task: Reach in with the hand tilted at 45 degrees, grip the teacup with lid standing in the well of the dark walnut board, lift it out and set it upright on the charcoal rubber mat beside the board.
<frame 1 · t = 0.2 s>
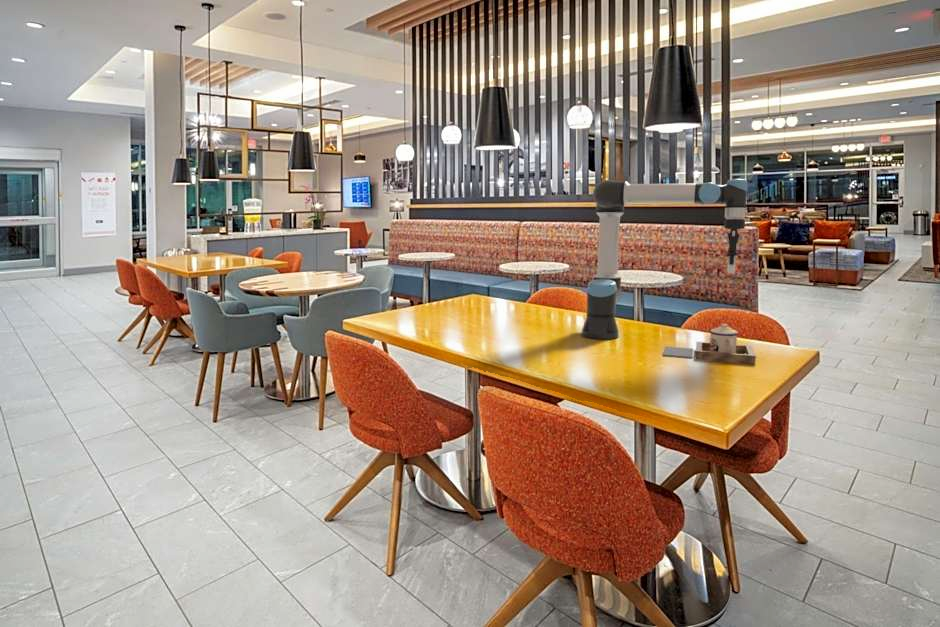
hand: (731, 272, 236), 28 cm above the table, tool pointing down, fingers open, 13 cm apart
charcoal rubber mat: (678, 352, 216), on the table
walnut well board: (723, 356, 210), on the table
teacup with lid: (723, 357, 210), resting in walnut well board
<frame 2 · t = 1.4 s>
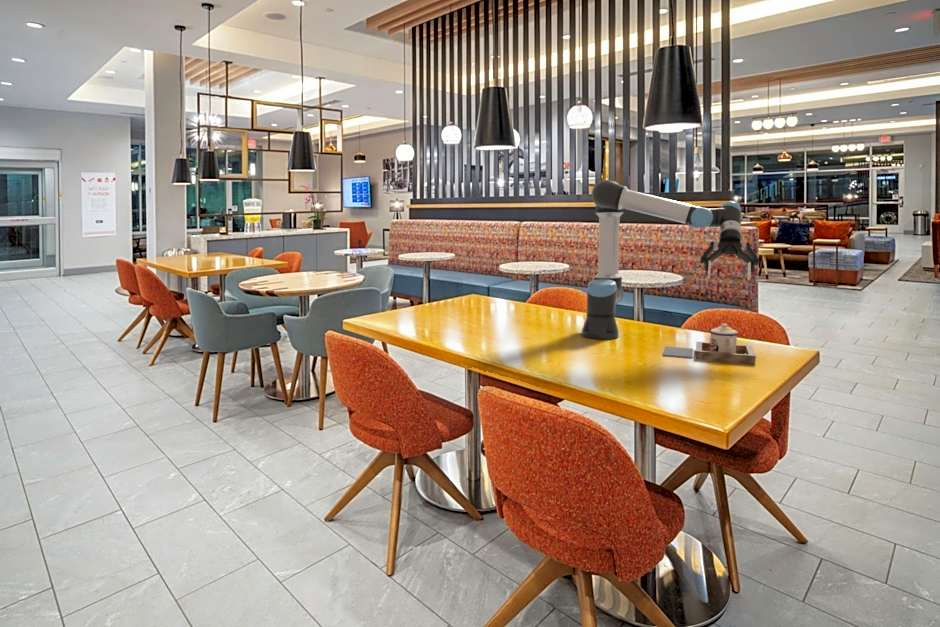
hand: (728, 277, 216), 28 cm above the table, tool tilted 45°, fingers open, 13 cm apart
nothing on the table moved.
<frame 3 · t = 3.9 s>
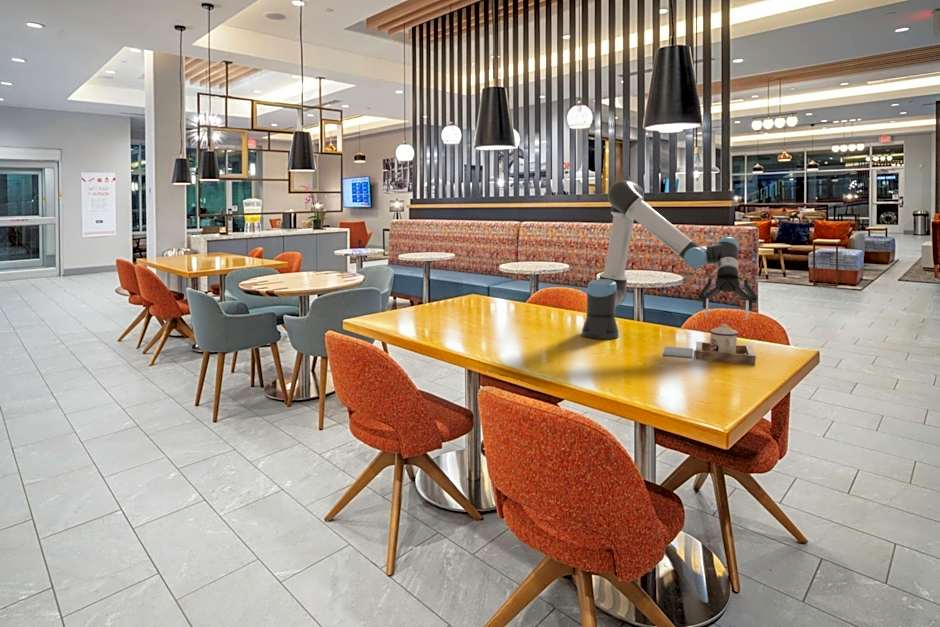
hand: (726, 315, 214), 14 cm above the table, tool tilted 45°, fingers open, 13 cm apart
nothing on the table moved.
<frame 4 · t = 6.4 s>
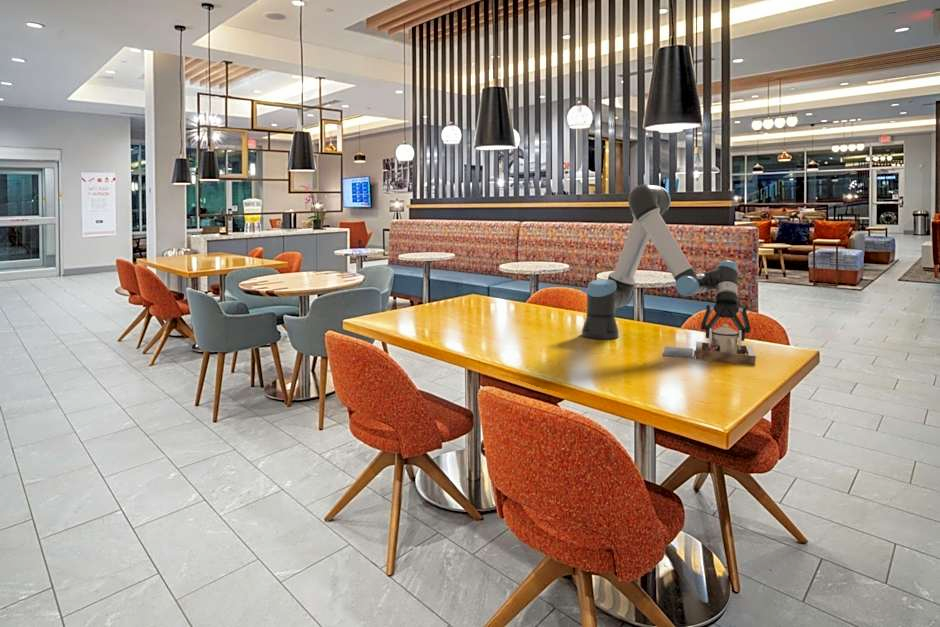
hand: (724, 346, 207), 4 cm above the table, tool tilted 45°, fingers closed on teacup with lid, 9 cm apart
teacup with lid: (724, 357, 210), resting in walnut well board, touching gripper
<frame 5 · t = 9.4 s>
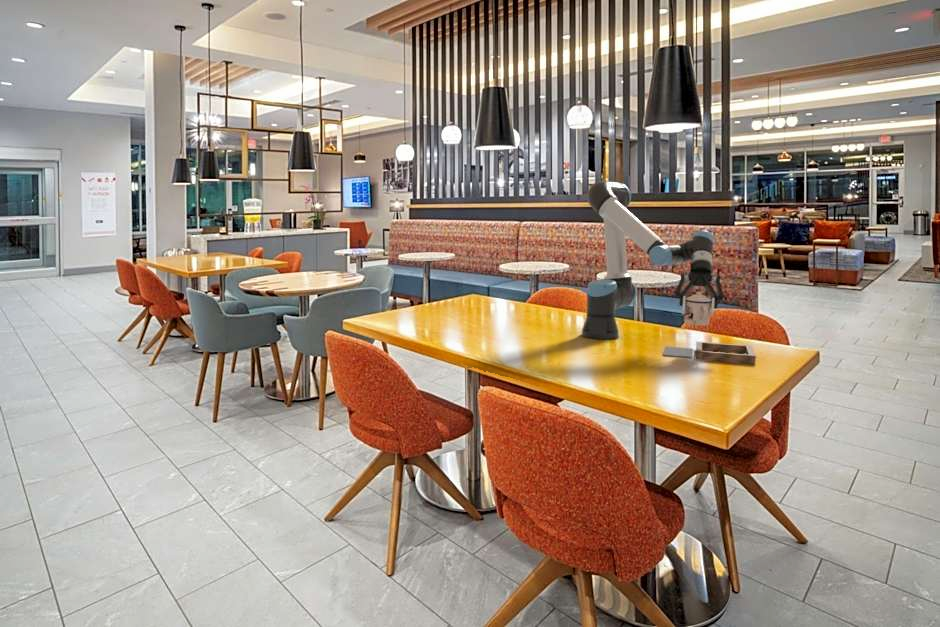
hand: (697, 313, 209), 15 cm above the table, tool tilted 45°, fingers closed on teacup with lid, 9 cm apart
teacup with lid: (698, 324, 212), point 11 cm above the table, touching gripper
when the fingers open (6 cm above the table, at t = 12.4 s): teacup with lid stays where it is, resting on charcoal rubber mat.
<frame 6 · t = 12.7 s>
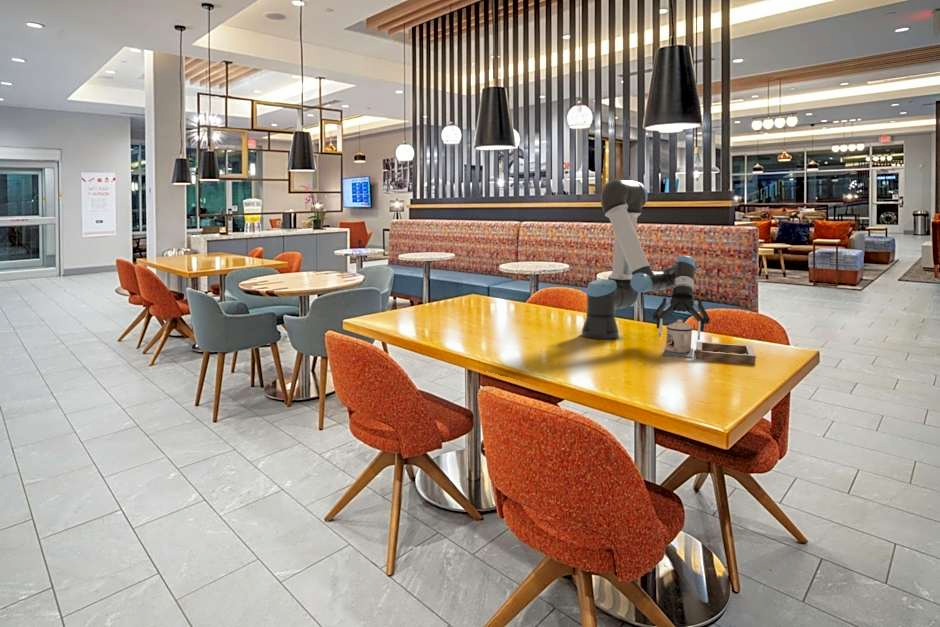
hand: (679, 336, 213), 7 cm above the table, tool tilted 45°, fingers open, 13 cm apart
teacup with lid: (679, 352, 216), resting on charcoal rubber mat
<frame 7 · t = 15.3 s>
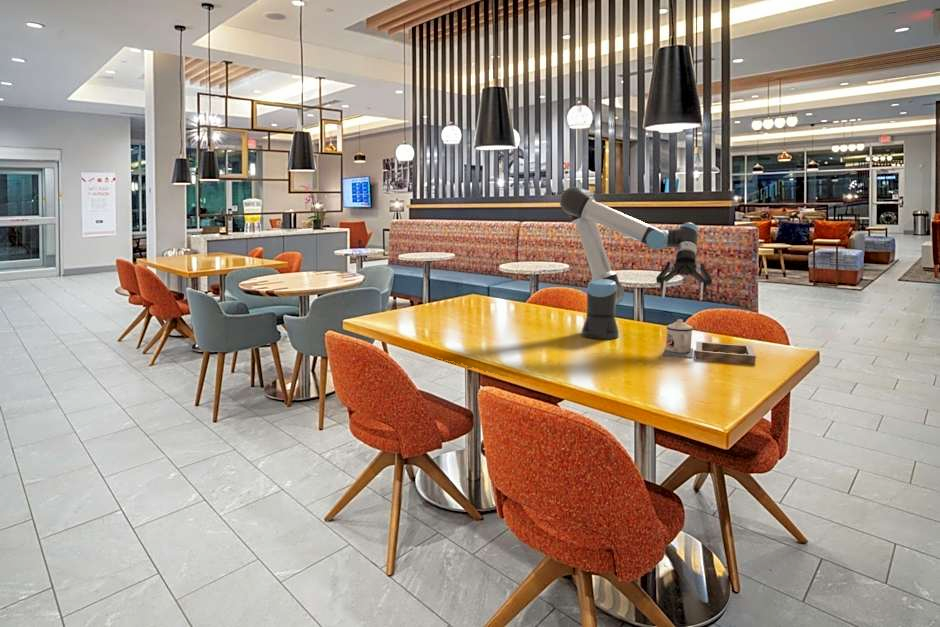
hand: (682, 297, 222), 19 cm above the table, tool tilted 45°, fingers open, 13 cm apart
nothing on the table moved.
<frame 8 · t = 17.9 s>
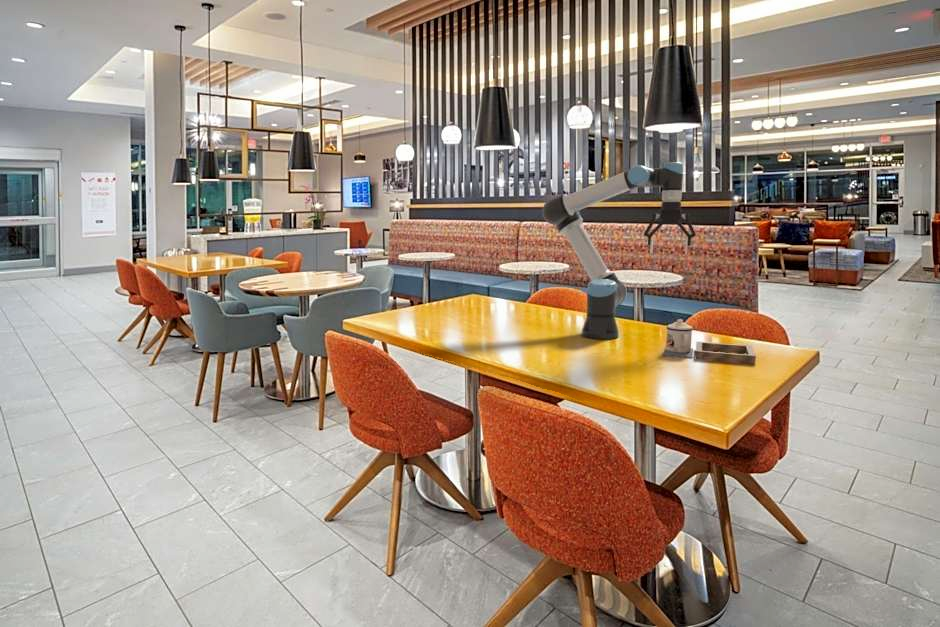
hand: (668, 253, 241), 35 cm above the table, tool pointing down, fingers open, 13 cm apart
nothing on the table moved.
at the end: teacup with lid inside the target area (0.4 cm from its centre), resting on charcoal rubber mat; teacup with lid tilted 0°; the gripper is holding nothing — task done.
